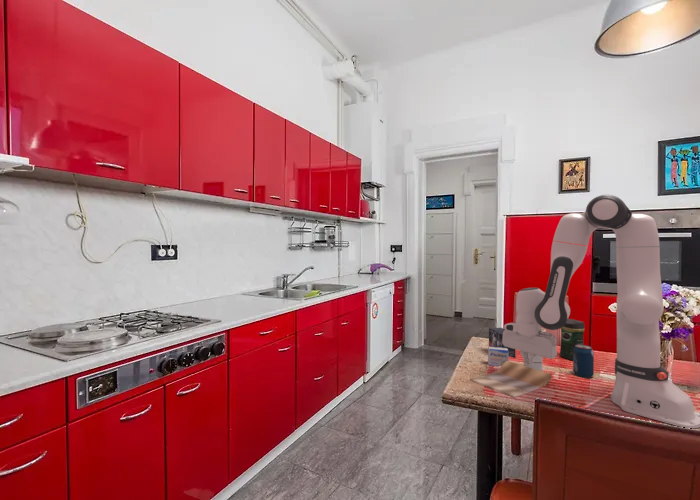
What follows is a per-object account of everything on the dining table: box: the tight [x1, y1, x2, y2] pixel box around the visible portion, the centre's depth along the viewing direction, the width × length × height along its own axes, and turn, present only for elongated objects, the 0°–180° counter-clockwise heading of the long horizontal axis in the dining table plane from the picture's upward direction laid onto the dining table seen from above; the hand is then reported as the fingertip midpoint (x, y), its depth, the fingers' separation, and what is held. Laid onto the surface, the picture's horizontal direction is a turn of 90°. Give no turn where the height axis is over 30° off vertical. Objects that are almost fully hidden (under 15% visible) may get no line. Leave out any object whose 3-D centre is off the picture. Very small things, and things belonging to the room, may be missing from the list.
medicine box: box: [487, 346, 510, 367], centre depth 147 cm, size 8×4×9 cm, turn 73°
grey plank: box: [484, 371, 541, 393], centre depth 128 cm, size 18×8×2 cm, turn 33°
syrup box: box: [523, 353, 544, 372], centre depth 142 cm, size 6×6×14 cm
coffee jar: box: [559, 318, 586, 361], centre depth 160 cm, size 10×8×19 cm
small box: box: [488, 327, 517, 359], centre depth 165 cm, size 13×7×12 cm, turn 6°
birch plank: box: [469, 375, 529, 399], centre depth 123 cm, size 18×8×2 cm, turn 33°
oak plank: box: [496, 360, 553, 388], centre depth 132 cm, size 18×8×2 cm, turn 32°
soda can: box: [572, 344, 595, 379], centre depth 138 cm, size 7×7×12 cm
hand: (528, 363), depth 133 cm, fingers closed
